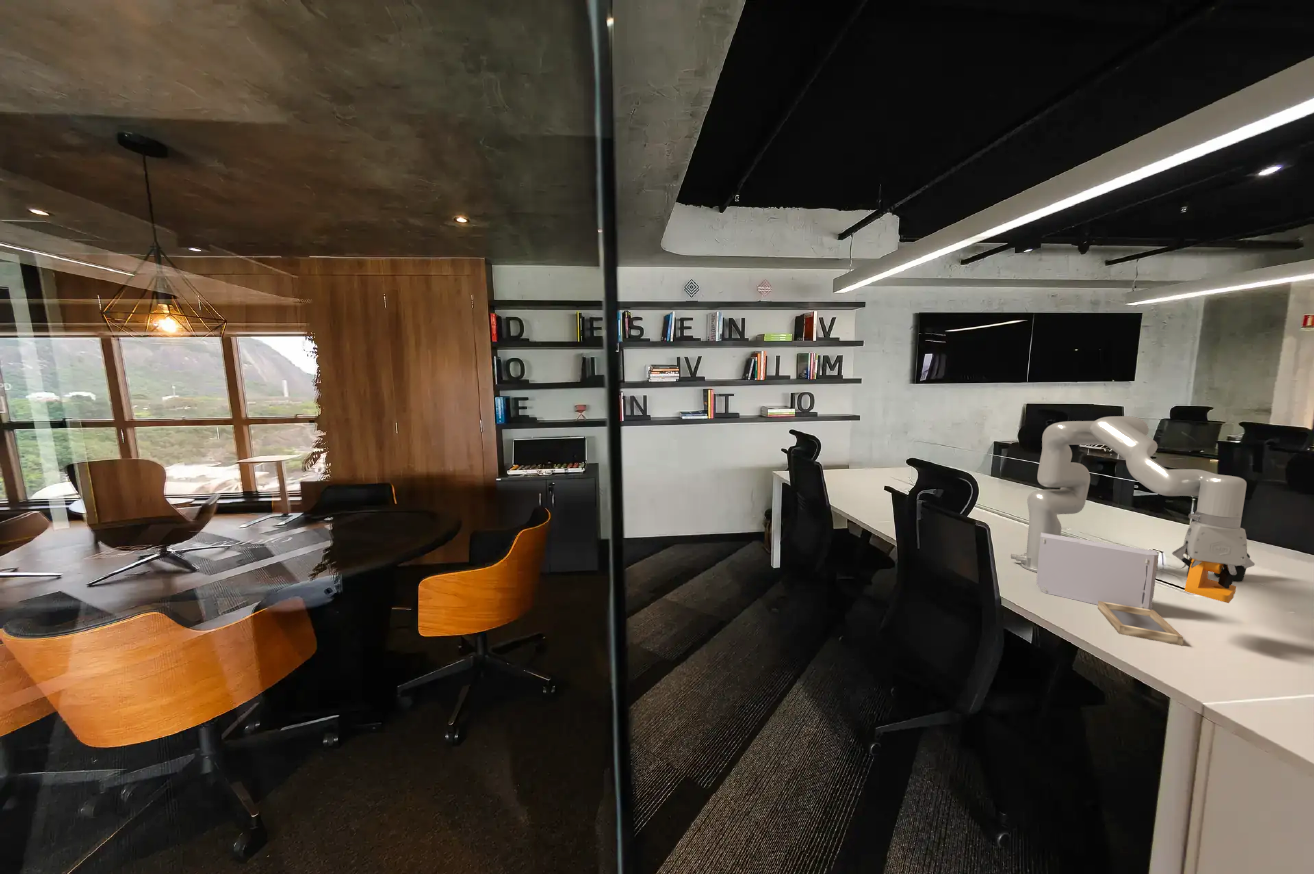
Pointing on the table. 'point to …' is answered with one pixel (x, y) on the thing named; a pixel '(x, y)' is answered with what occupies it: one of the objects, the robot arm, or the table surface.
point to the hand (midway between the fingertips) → (1208, 583)
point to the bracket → (1208, 582)
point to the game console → (1096, 571)
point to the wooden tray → (1139, 623)
